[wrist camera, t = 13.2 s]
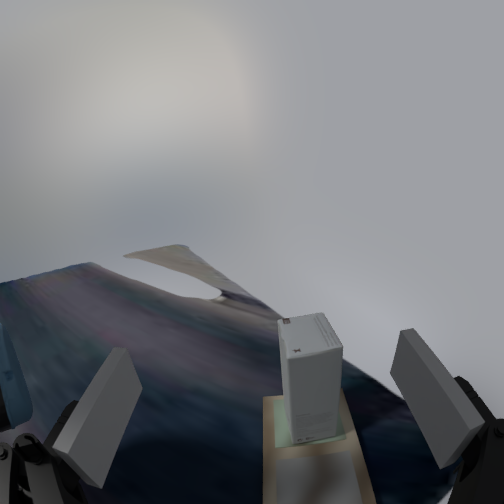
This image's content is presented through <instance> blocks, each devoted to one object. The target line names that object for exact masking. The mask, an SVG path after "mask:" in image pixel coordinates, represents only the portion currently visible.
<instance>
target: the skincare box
mask: <svg viewBox="0 0 504 504" xmlns="http://www.w3.org/2000/svg"><path fill="white" fill-rule="evenodd" d="M278 332H279V344H280V356H281V370H282V383H283V395H284V408H285V414H286V418H287V423H288V427H289V432H290V435H291V440H292V444H298V443H303V442H309V441H315V440H322V439H327V438H332V437H335V435H336V430H337V421H338V411H339V401H340V388H341V372H342V356H343V345H342V343H341V342H340V340H339V338H338V337H337V335H336V333H335V331H334V330H333V328H332V327H331V325H330V323H329V322H328V320H327V318H326V317H325V315H324V314H323V313H316V314H310V315H304V316H299V317H292V318H286V319H280V320H278Z"/></svg>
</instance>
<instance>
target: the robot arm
mask: <svg viewBox="0 0 504 504" xmlns="http://www.w3.org/2000/svg"><path fill="white" fill-rule="evenodd" d="M390 374H391V376H392V377H393V379H394V381H395V383H396V385H397V386H398V388H399V390H400V391H401V394H402V395H403V397H404V399H405V401H406V403H407V405H408V407H409V408H410V410H411V412H412V414H413V416H414V418H415V420H416V422H417V424H418V426H419V428H420V429H421V431H422V433H423V435H424V437H425V439H426V441H427V443H428V445H429V447H430V449H431V452H432V454H433V456H434V458H435V460H436V462H437V464H438V466H439V468H440V469H442V468H444V467H446V466H448V465H451V464H453V463H455V461H456V460H457V459H458V458H459V457H460V455H461V456H462V458H463V460H462V462H461V463H460V464H459V465H458V466H457V467H456V468H455V470H454V472H453V473H454V474H455V473H456V472H457V471H458V470H459V471H458V475H457V478H456V481H455V484H454V487H453V490H452V493H451V495H450V498H449V501H448V504H504V419H496V418H495V417H494V416H493V414H492V413H491V411H490V410H489V409H488V407H487V406H486V405H485V403H484V402H483V401H482V399H481V398H480V397H478V394H477V393H476V391H474V389H473V388H472V386H471V385H470V384H469V382H468V381H466V380H465V379H463V378H462V377H460V376H457V377H455V378H453V377H452V376H451V374H450V373H449V372H448V370H447V369H446V368H445V367H444V365H443V364H442V363H441V362H440V360H439V359H438V358H437V356H436V355H435V354H434V353H433V351H432V350H431V349H430V348H429V347H428V345H427V344H426V343H425V342H424V340H423V339H422V338H421V337H420V336H419V335H418V333H417V332H416V331H415V330H414V329H413V328H412V329H407V330H402V331H400V335H399V339H398V344H397V348H396V352H395V356H394V360H393V364H392V368H391V372H390ZM142 389H143V388H142V386H141V383H140V381H139V378H138V376H137V373H136V371H135V368H134V366H133V363H132V360H131V358H130V355H129V352H128V349H127V348H117V347H114V348H113V350H112V351H111V353H110V354H109V356H108V357H107V359H106V360H105V362H104V363H103V365H102V366H101V368H100V369H99V371H98V372H97V374H96V375H95V377H94V378H93V380H92V382H91V383H90V385H89V386H88V388H87V390H86V391H85V393H84V394H83V396H82V398H81V399H80V401H75V400H74V401H72V402H71V403H70V404H69V405H67V406H66V407H65V409H64V411H63V412H62V414H61V417H59V419H58V420H57V423H56V424H55V425H54V427H53V428H52V430H51V432H50V433H49V435H48V437H47V439H46V440H45V442H44V444H43V445H42V444H41V442H40V441H39V440H38V439H37V438H36V437H35V436H34V435H33V434H30V433H24V434H22V435H19V436H18V437H17V438H16V439H15V441H14V443H13V448H12V447H11V446H10V445H9V444H7V443H4V442H3V443H0V504H88V502H87V499H86V497H85V495H84V492H83V490H82V487H81V485H80V484H79V482H78V481H79V479H80V478H81V479H82V480H83V481H84V482H86V483H87V484H89V485H92V486H95V487H98V488H101V489H102V487H103V485H104V482H105V479H106V477H107V474H108V471H109V469H110V466H111V464H112V461H113V458H114V456H115V453H116V451H117V448H118V446H119V443H120V441H121V438H122V436H123V433H124V431H125V429H126V426H127V424H128V421H129V419H130V417H131V414H132V412H133V409H134V407H135V405H136V402H137V400H138V398H139V396H140V393H141V391H142ZM32 412H33V407H32V402H31V398H30V394H29V391H28V388H27V385H26V382H25V379H24V376H23V373H22V370H21V367H20V364H19V361H18V358H17V355H16V352H15V349H14V346H13V344H12V341H11V338H10V336H9V333H8V331H7V329H6V327H5V326H4V325H3V324H1V323H0V432H3V431H6V430H9V429H15V427H16V426H18V425H20V424H22V423H25V422H27V421H29V420H30V419H31V417H32ZM13 449H14V450H15V451H14V450H13ZM17 484H18V485H19V489H18V490H17Z"/></svg>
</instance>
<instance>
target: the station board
mask: <svg viewBox="0 0 504 504" xmlns="http://www.w3.org/2000/svg"><path fill="white" fill-rule="evenodd" d="M263 504H376V500H375V496H374V493H373V489H372V485H371V482H370V478H369V474H368V471H367V467H366V464H365V460H364V457H363V454H362V450H361V447H360V444H359V440H358V437H357V434H356V430H355V427H354V424H353V421H352V418H351V414H350V411H349V408H348V405H347V402H346V399H345V396H344V393H343V390H342V388H340V401H339V411H338V421H337V430H336V435H335V437H332V438H327V439H322V440H315V441H309V442H303V443H298V444H292V440H291V435H290V432H289V427H288V423H287V418H286V414H285V408H284V395H282V396H269V397H263Z"/></svg>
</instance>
